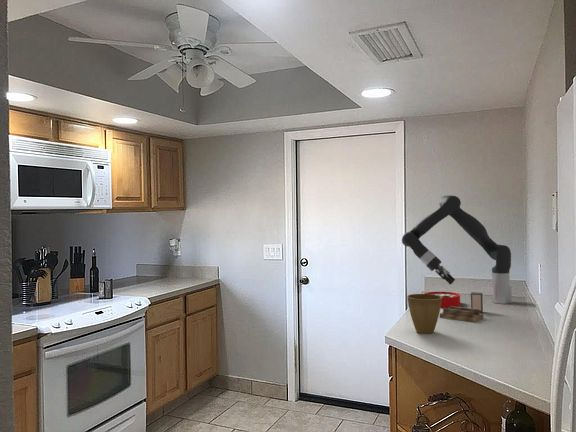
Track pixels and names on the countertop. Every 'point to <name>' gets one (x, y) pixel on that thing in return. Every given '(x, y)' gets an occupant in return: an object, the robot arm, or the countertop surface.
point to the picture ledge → (461, 314)
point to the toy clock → (447, 298)
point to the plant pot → (424, 311)
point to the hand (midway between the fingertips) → (452, 282)
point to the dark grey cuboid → (477, 301)
